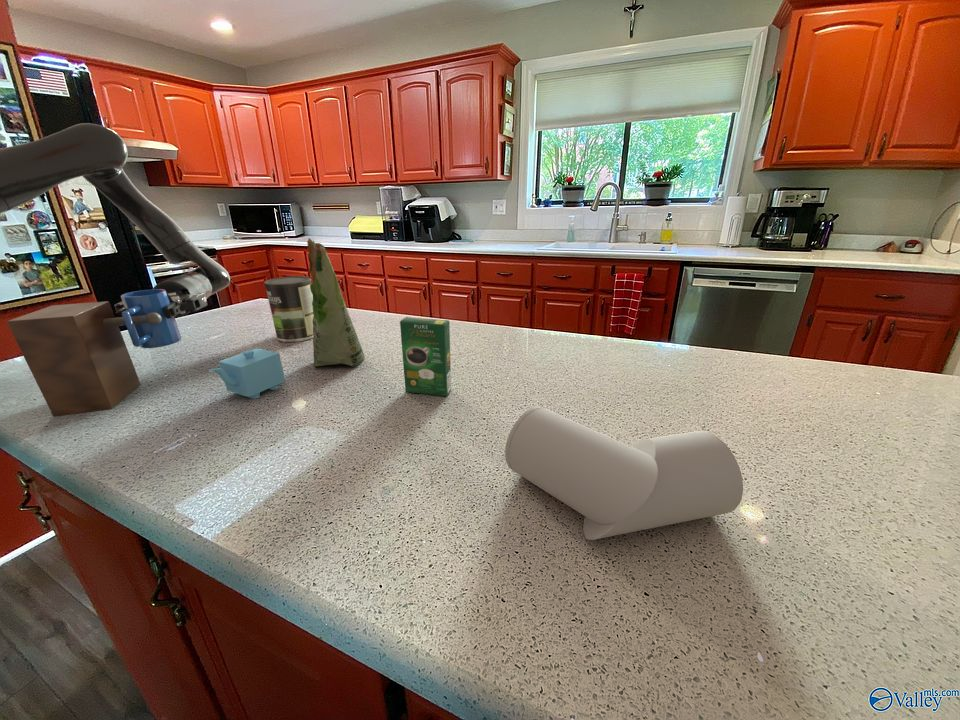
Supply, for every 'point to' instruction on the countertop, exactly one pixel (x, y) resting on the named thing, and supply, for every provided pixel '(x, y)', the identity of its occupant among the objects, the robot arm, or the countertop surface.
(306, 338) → the coffee can
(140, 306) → the blue mug
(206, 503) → the countertop surface
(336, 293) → the pouch
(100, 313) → the peg box
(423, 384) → the coffee box
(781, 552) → the countertop surface
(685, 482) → the bent grey cylinder
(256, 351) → the teapot
